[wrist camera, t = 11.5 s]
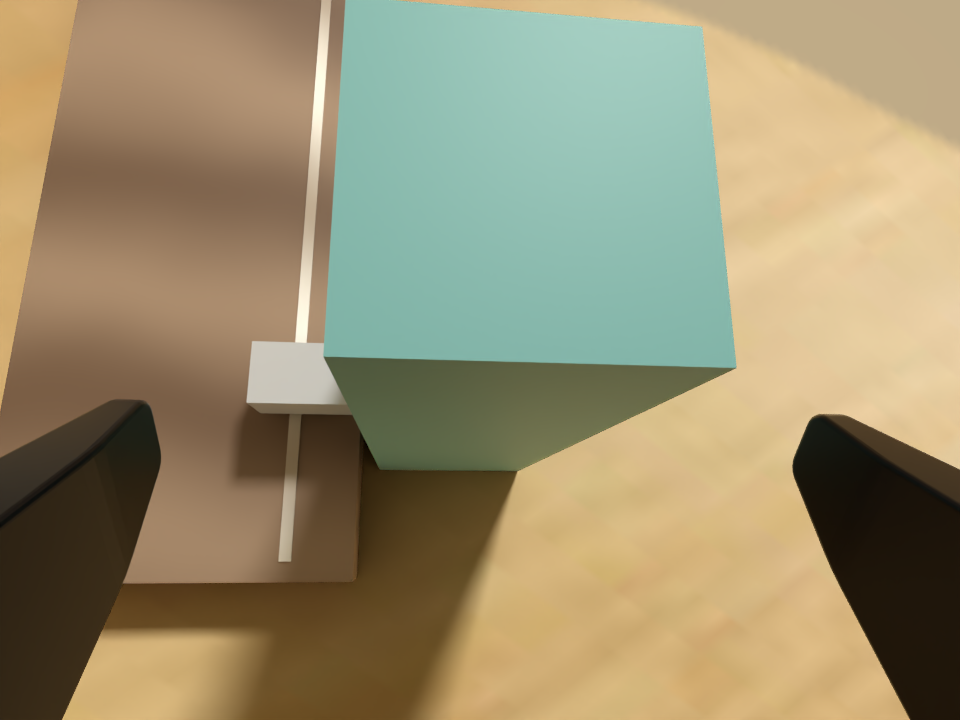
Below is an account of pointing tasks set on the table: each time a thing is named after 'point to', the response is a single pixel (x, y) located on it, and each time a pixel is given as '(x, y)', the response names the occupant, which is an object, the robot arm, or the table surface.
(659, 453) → the table surface
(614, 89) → the teal rectangular block
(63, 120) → the board
